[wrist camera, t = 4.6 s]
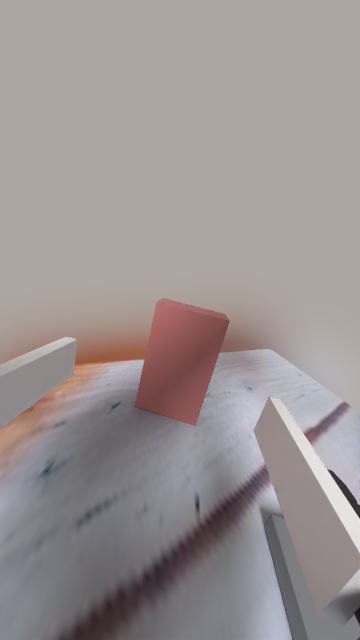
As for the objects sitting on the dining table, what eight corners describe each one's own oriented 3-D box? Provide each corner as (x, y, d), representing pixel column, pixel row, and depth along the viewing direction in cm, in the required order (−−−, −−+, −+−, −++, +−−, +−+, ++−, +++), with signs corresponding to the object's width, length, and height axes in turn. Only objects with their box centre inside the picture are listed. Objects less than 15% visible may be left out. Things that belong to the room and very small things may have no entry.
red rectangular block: (196, 405, 25) (225, 314, 21) (195, 425, 22) (229, 320, 18) (143, 389, 26) (163, 298, 22) (134, 406, 22) (156, 301, 19)
